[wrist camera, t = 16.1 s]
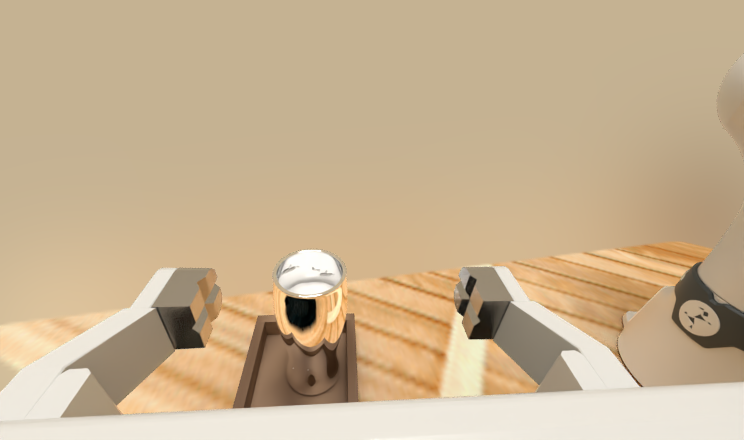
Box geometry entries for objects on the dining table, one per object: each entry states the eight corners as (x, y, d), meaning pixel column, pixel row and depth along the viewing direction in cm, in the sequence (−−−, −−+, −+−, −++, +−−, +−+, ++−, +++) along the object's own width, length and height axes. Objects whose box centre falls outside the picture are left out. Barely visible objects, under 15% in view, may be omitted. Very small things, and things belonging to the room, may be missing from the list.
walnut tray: (353, 330, 42) (354, 313, 40) (357, 429, 32) (358, 412, 30) (261, 333, 40) (258, 315, 39) (235, 437, 30) (229, 420, 29)
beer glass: (287, 344, 38) (277, 246, 30) (343, 342, 39) (348, 247, 31) (277, 401, 32) (262, 299, 25) (344, 398, 33) (349, 298, 25)
